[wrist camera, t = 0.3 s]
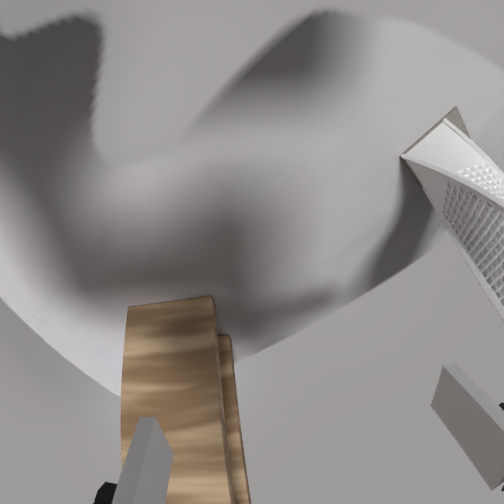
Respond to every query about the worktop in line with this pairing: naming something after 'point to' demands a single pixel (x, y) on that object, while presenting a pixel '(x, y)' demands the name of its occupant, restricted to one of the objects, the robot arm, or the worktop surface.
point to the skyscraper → (464, 198)
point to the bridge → (186, 398)
